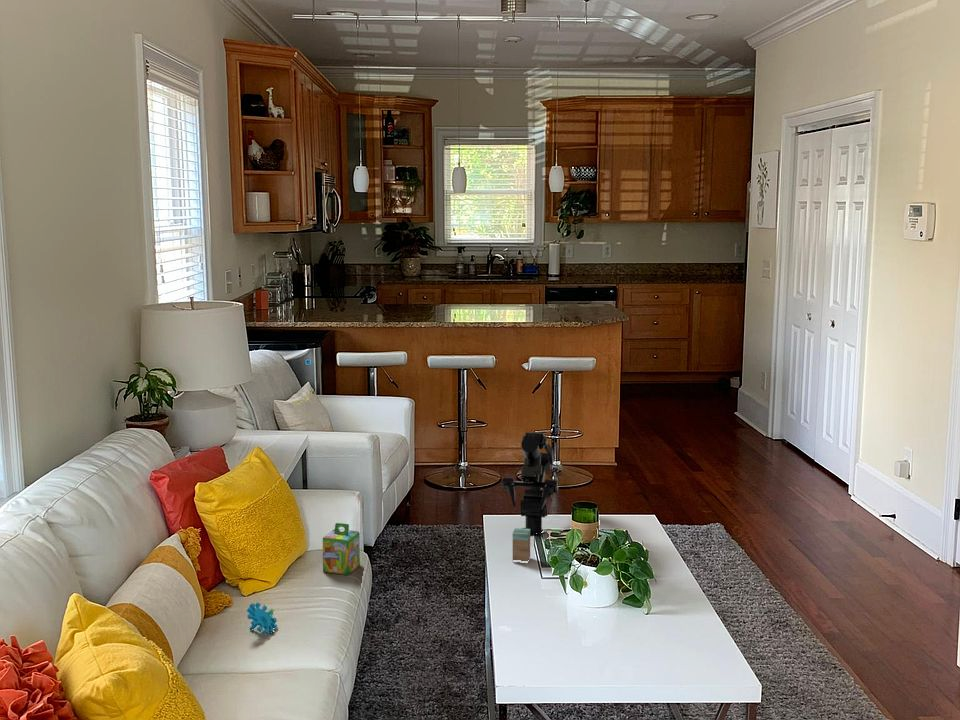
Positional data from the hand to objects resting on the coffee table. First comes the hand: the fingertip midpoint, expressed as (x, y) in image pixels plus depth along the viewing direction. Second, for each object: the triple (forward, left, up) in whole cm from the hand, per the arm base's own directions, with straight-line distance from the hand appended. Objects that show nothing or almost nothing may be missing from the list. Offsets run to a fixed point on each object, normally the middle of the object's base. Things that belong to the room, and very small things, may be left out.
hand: (527, 508), depth 318 cm
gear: (+26, -92, -14) cm, 97 cm away
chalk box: (-8, -62, -14) cm, 64 cm away
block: (+9, -6, -14) cm, 18 cm away
